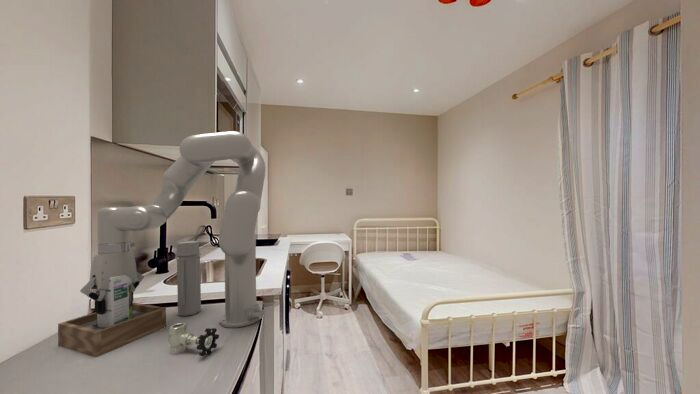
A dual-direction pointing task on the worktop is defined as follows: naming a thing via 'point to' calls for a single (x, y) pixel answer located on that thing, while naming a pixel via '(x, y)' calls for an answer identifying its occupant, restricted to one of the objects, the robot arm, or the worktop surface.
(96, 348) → the socket box
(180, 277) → the water bottle
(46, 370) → the worktop surface
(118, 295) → the syrup box
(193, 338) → the valve
